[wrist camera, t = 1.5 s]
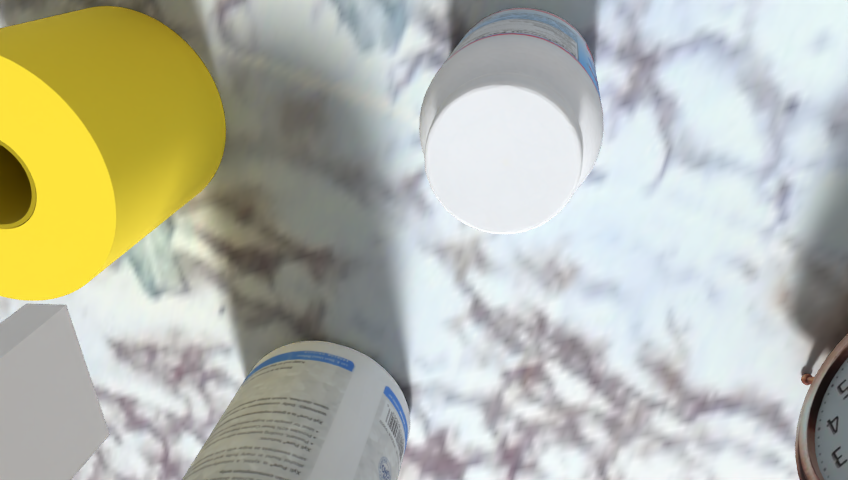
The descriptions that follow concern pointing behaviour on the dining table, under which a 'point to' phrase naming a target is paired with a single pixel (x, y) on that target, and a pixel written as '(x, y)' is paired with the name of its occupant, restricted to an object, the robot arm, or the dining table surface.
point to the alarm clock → (825, 420)
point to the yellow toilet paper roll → (96, 142)
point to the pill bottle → (512, 121)
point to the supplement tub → (309, 420)
